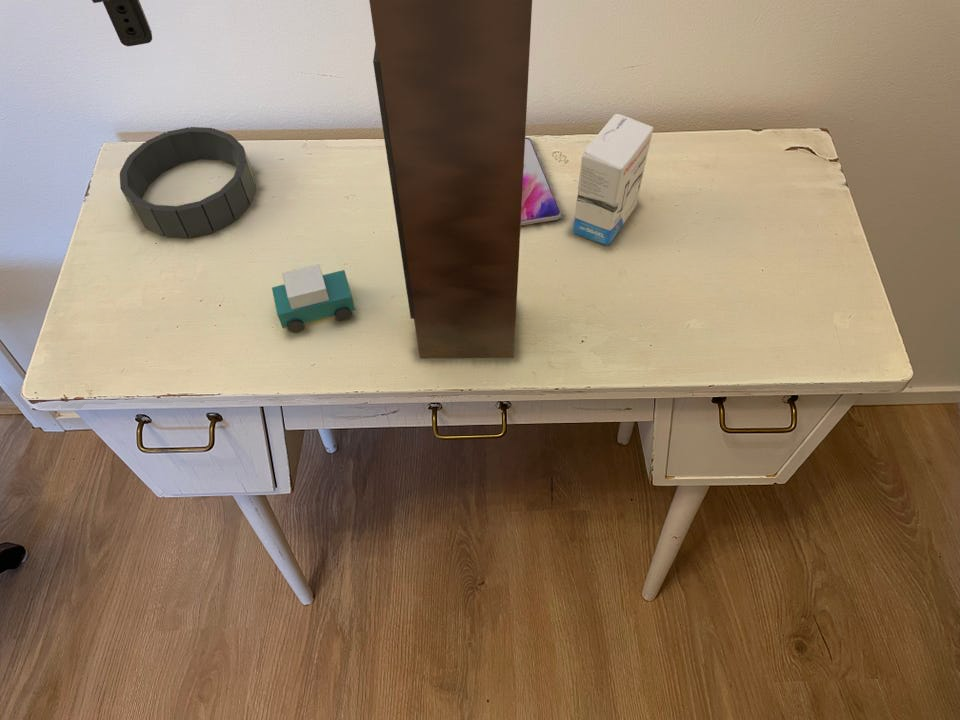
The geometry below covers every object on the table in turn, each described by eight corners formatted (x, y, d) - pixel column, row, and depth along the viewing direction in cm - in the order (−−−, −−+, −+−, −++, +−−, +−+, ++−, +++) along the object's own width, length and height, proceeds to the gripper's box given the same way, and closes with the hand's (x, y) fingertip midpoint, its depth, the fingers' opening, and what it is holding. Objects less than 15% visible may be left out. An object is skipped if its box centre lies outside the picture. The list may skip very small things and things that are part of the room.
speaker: (416, 359, 77) (361, -14, 44) (419, 305, 81) (371, -73, 48) (513, 358, 77) (533, -15, 44) (512, 305, 81) (528, -75, 48)
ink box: (607, 248, 85) (622, 170, 76) (570, 232, 87) (580, 154, 77) (638, 204, 89) (656, 125, 80) (602, 189, 91) (615, 110, 81)
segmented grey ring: (138, 250, 86) (122, 223, 82) (132, 169, 94) (117, 141, 90) (263, 221, 88) (253, 194, 85) (246, 145, 96) (237, 117, 92)
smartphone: (530, 135, 95) (563, 215, 87) (530, 141, 96) (562, 220, 88) (476, 143, 94) (504, 224, 86) (476, 148, 95) (504, 229, 87)
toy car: (284, 335, 79) (273, 306, 74) (278, 302, 81) (266, 272, 77) (357, 317, 80) (349, 287, 76) (348, 285, 82) (340, 254, 78)
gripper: (-37, -292, 45) (83, -28, 58) (-60, -207, 37) (85, 74, 51) (90, -304, 46) (179, -43, 59) (93, -224, 38) (194, 55, 52)
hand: (135, 11), depth 55 cm, fingers open, 8 cm apart
